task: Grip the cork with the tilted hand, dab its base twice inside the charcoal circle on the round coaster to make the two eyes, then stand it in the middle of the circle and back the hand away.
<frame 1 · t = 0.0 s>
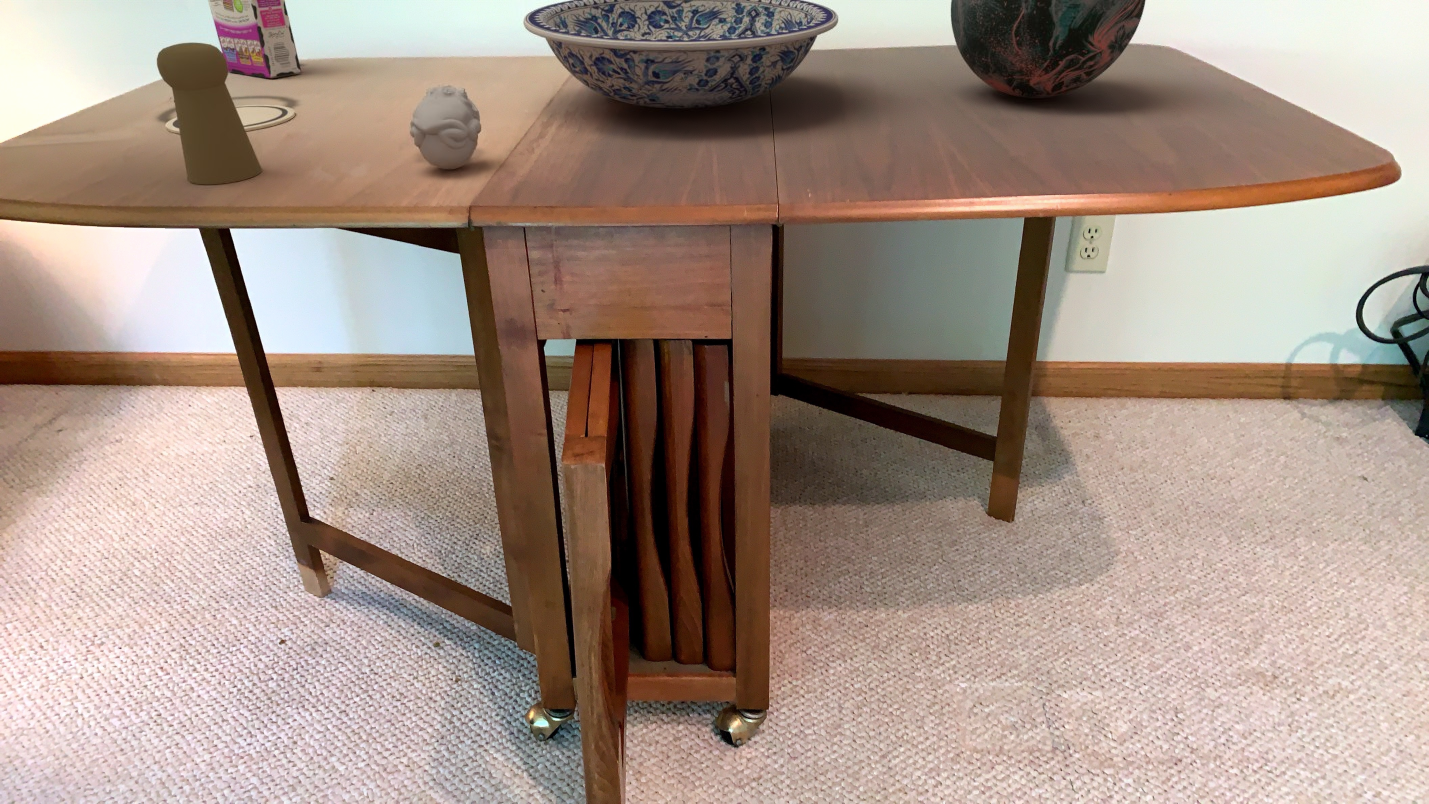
ceramic bowl: (684, 104, 103), on the table
round coaster: (232, 120, 99), on the table
frog figurine: (452, 169, 81), on the table
candy bar box: (265, 74, 123), on the table
decorative sphere: (1030, 98, 102), on the table
cork: (226, 176, 80), on the table
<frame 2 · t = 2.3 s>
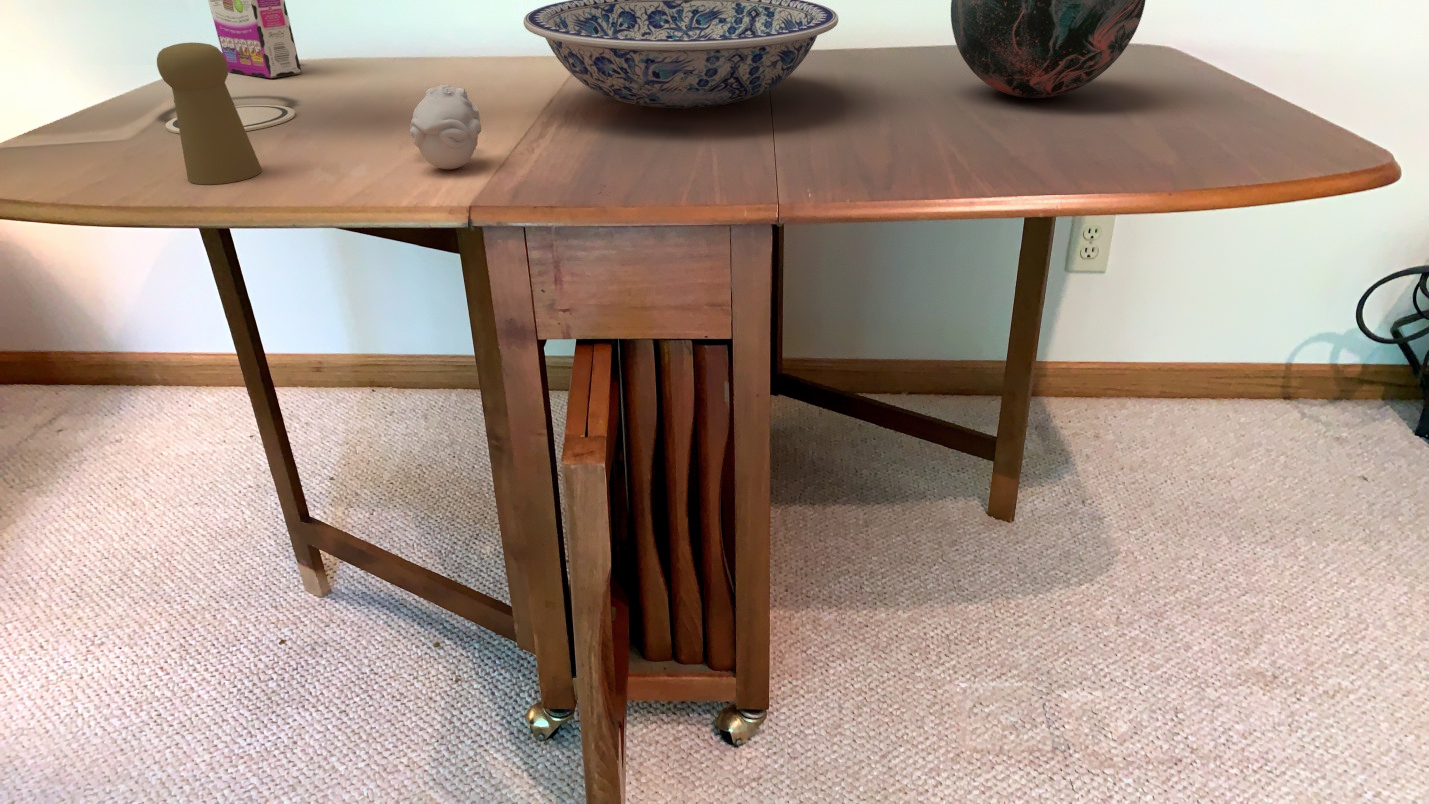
nothing on the table moved.
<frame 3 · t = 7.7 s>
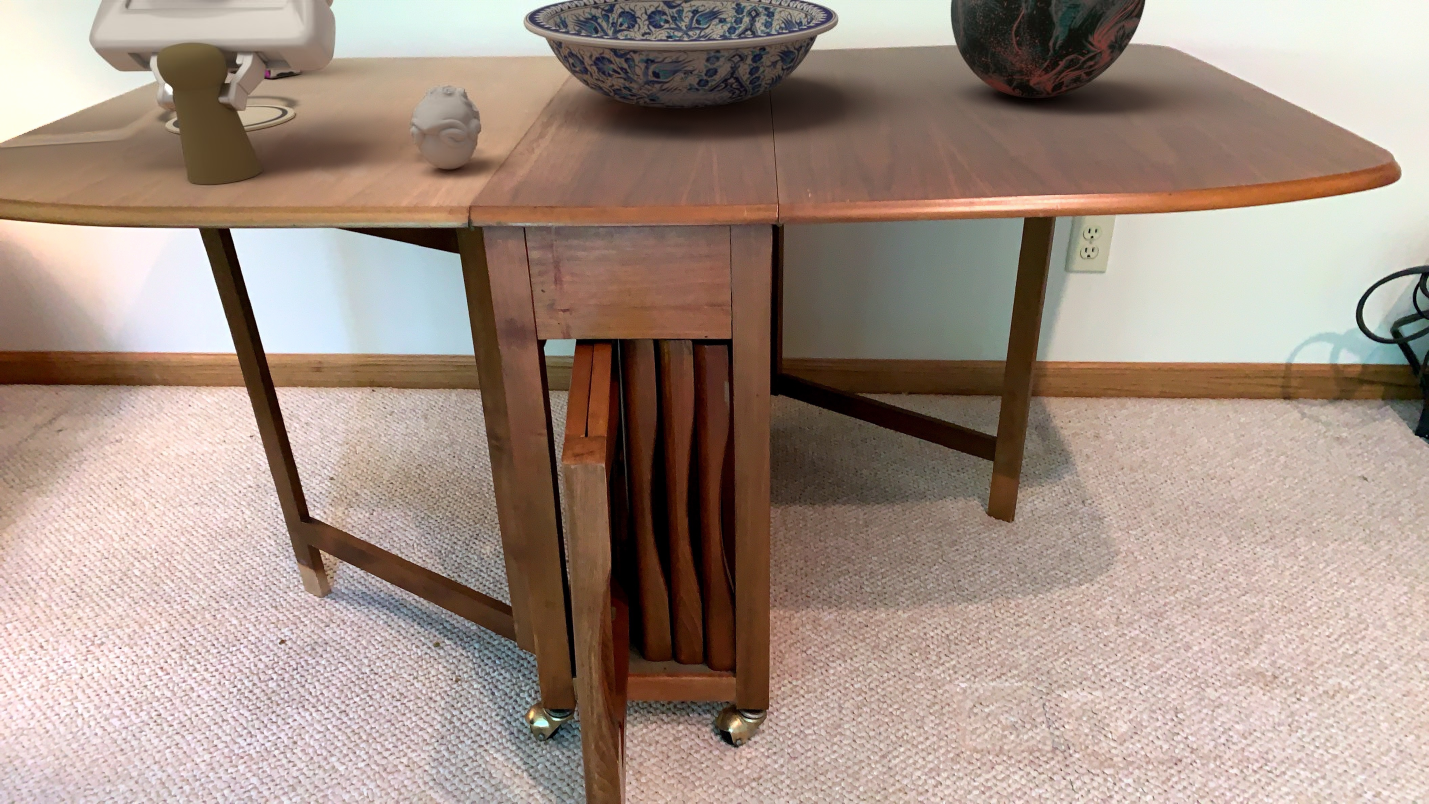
hand: (201, 107, 76), 6 cm above the table, tool tilted 45°, fingers closed on cork, 4 cm apart
cork: (226, 176, 80), on the table, touching gripper
everything else where it was.
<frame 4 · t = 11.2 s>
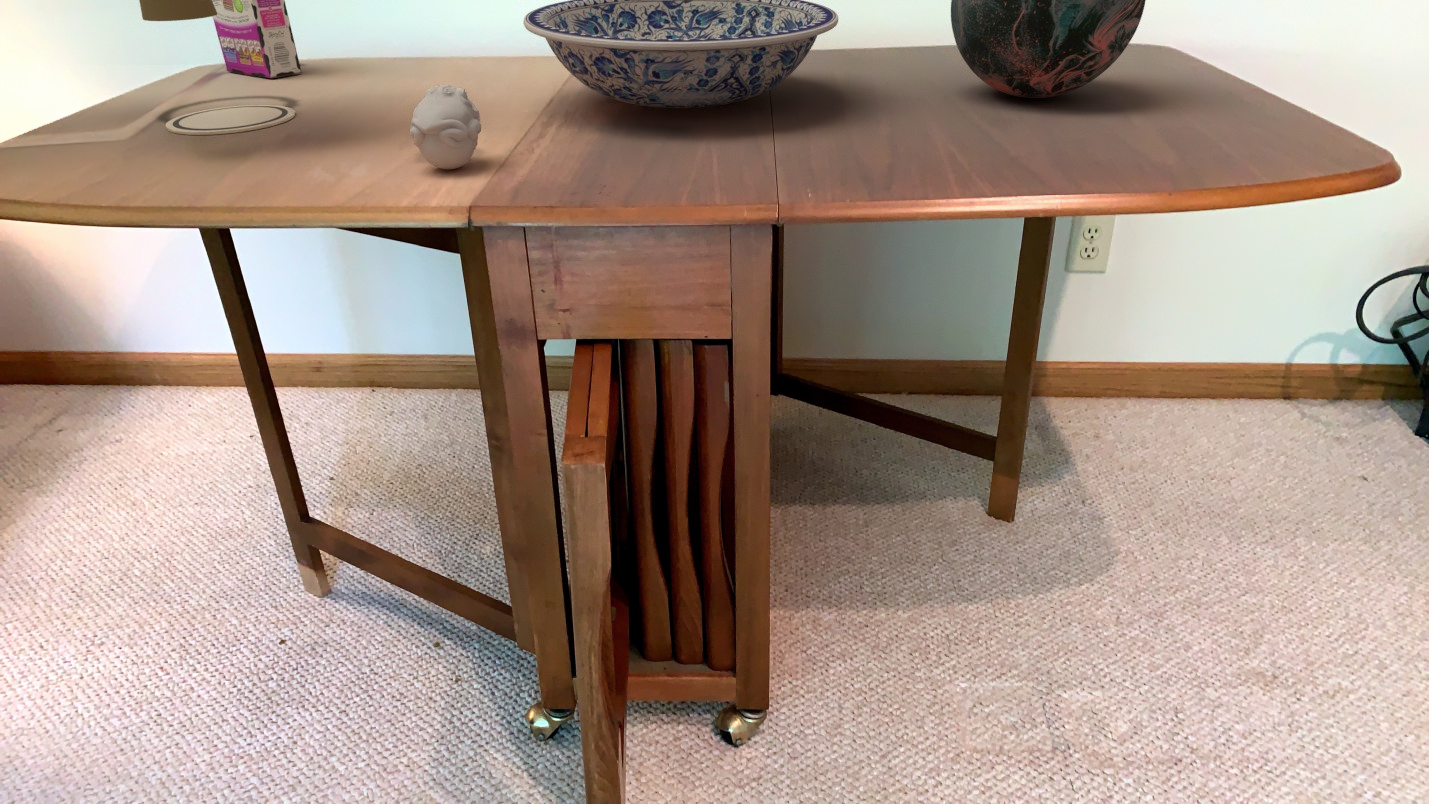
cork: (181, 18, 81), point 12 cm above the table, touching gripper
everything else where it was.
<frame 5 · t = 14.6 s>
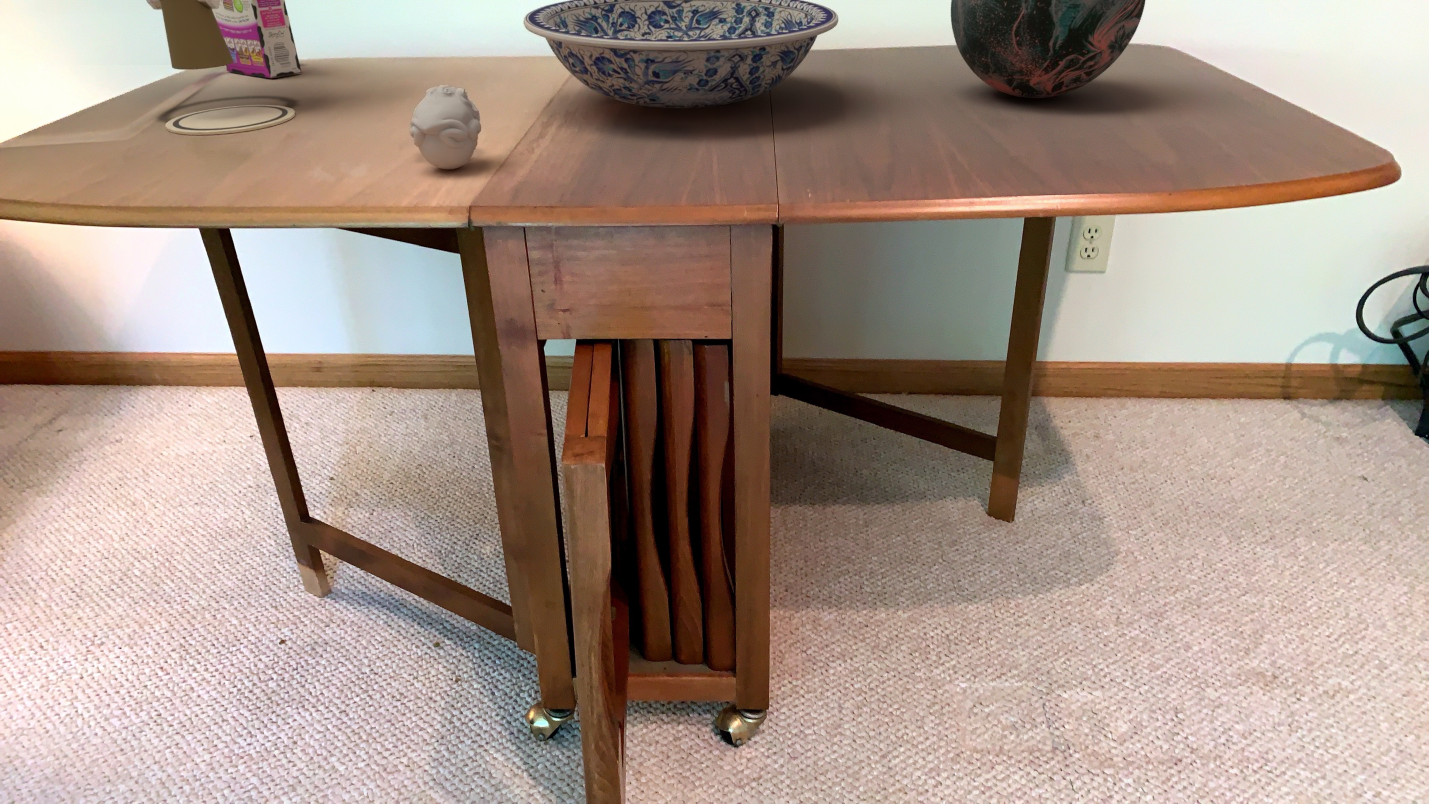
hand: (182, 5, 93), 12 cm above the table, tool tilted 45°, fingers closed on cork, 4 cm apart
cork: (203, 66, 97), point 6 cm above the table, touching gripper
everything else where it was.
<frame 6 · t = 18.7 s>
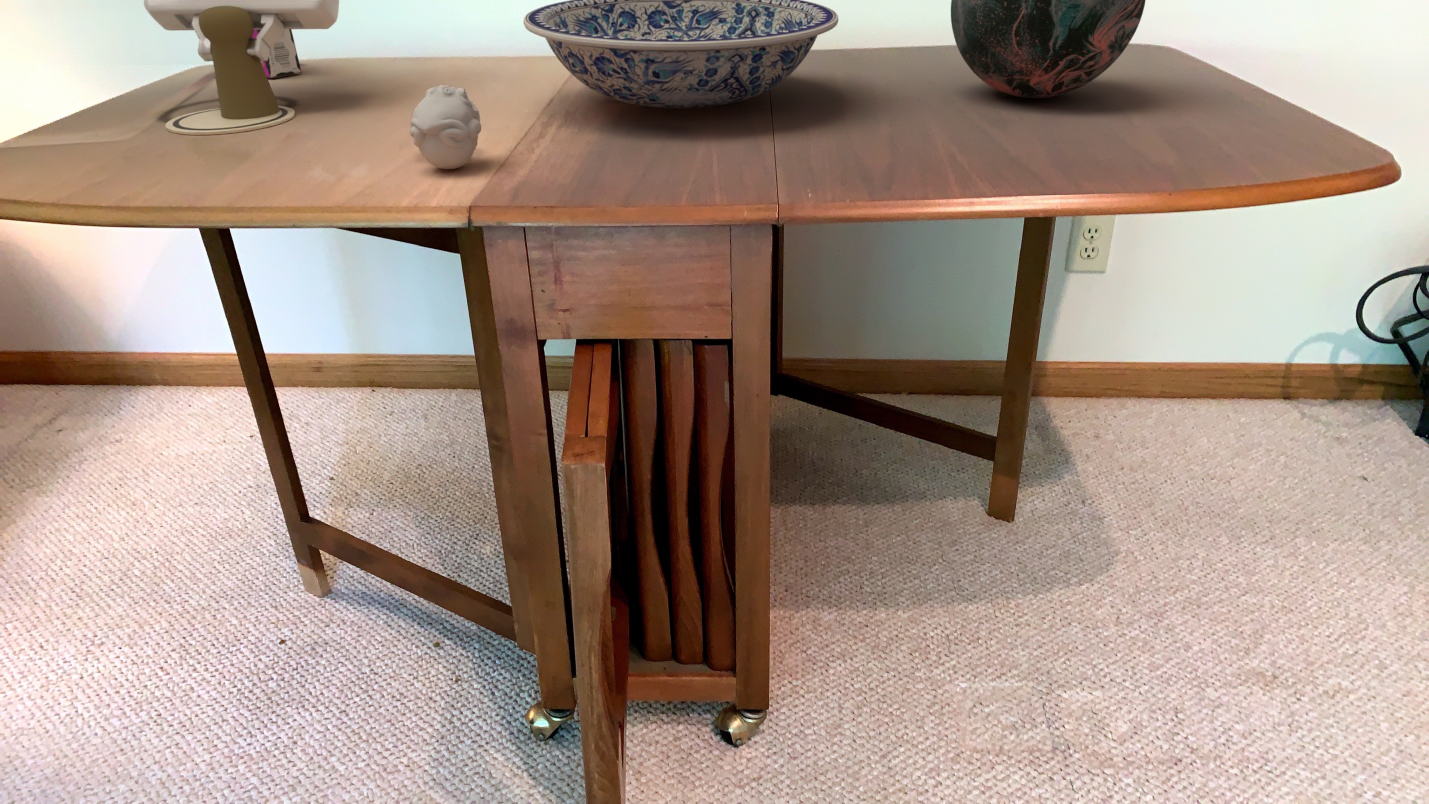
hand: (232, 57, 96), 6 cm above the table, tool tilted 45°, fingers closed on cork, 4 cm apart
cork: (251, 115, 100), resting on round coaster, touching gripper
everything else where it was.
when the fingers open (6 cm above the table, at t = 21.8 s): cork stays where it is, resting on round coaster.
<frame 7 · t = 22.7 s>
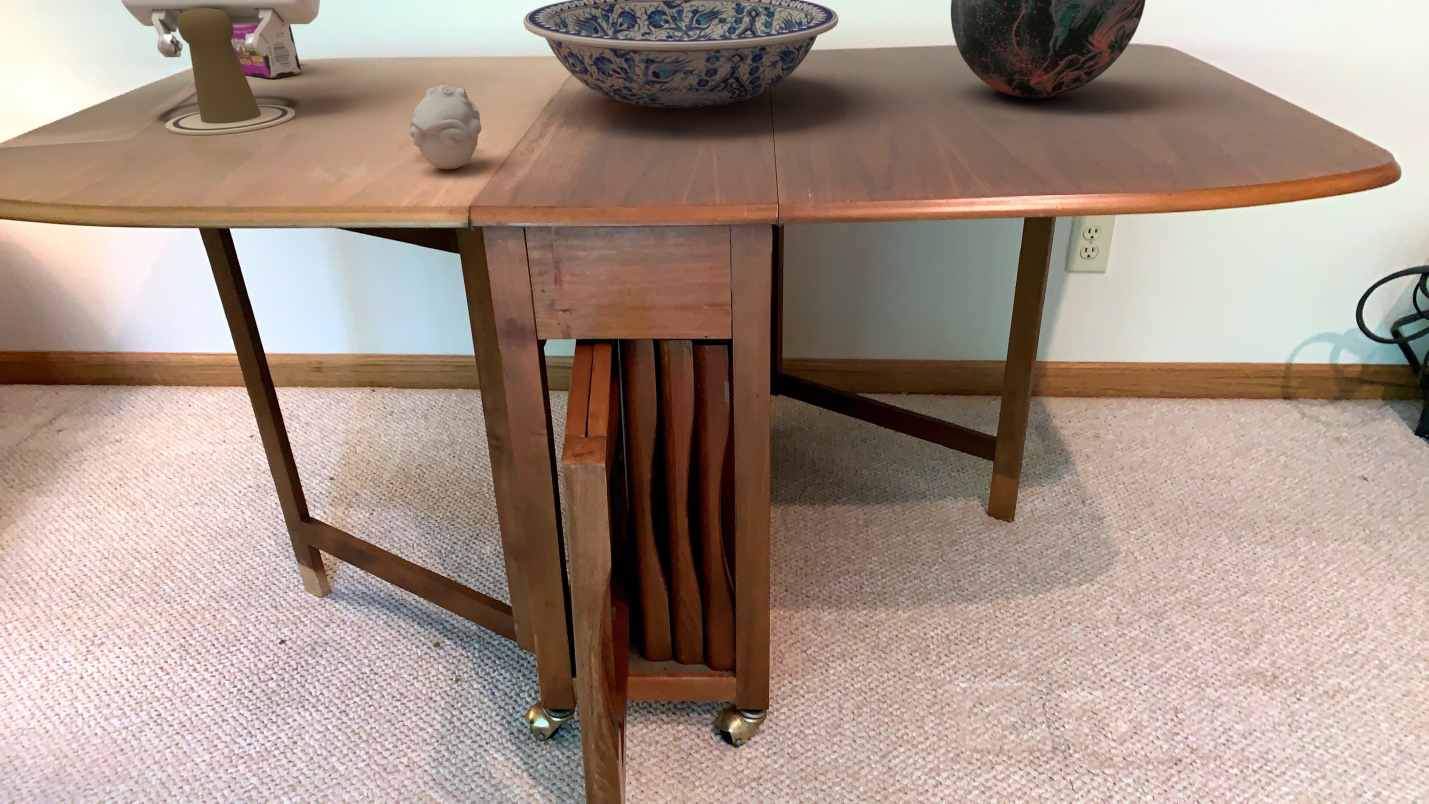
hand: (211, 53, 95), 7 cm above the table, tool tilted 45°, fingers open, 8 cm apart
cork: (231, 118, 99), resting on round coaster
everything else where it was.
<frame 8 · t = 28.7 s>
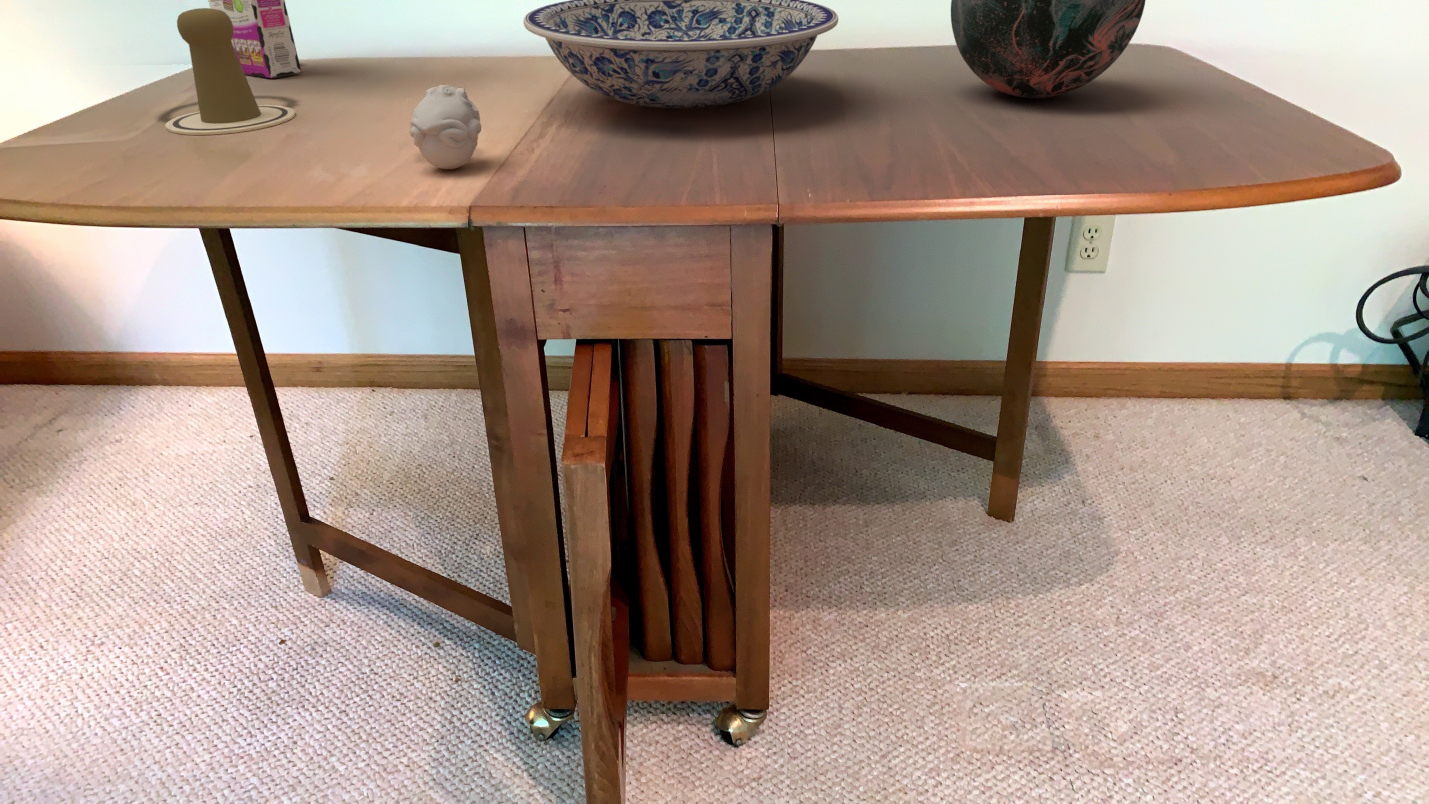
nothing on the table moved.
at the end: cork 0.1 cm off-centre on the round coaster, point 0.2 cm above the round coaster's base; cork tilted 0°; the gripper is holding nothing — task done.
